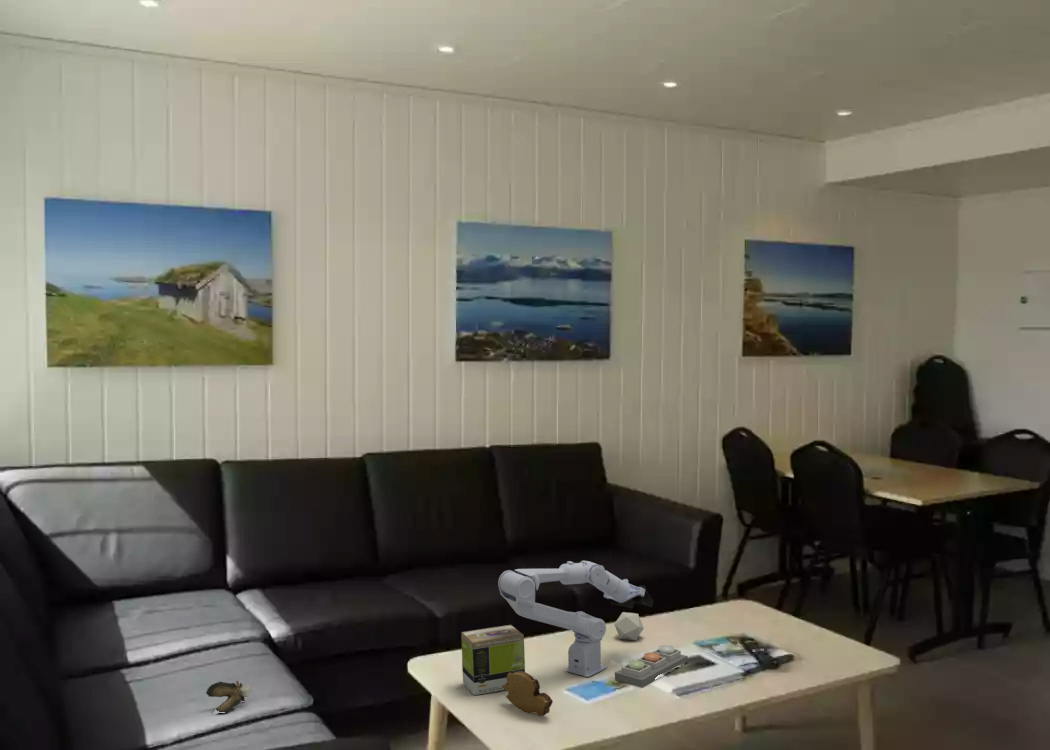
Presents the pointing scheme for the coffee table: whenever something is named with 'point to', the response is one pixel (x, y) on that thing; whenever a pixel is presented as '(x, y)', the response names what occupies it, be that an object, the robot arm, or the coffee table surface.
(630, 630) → the die
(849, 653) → the coffee table surface
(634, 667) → the sage button
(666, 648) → the blue-grey button
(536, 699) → the wooden carving
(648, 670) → the button panel
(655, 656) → the terracotta button
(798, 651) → the coffee table surface
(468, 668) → the tea box
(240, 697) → the eagle figurine
